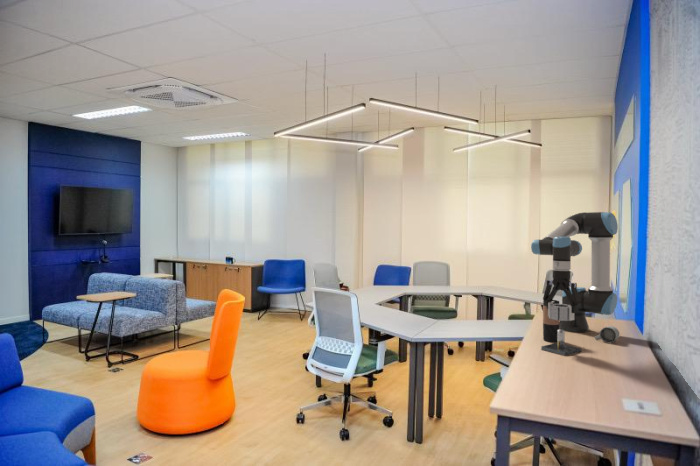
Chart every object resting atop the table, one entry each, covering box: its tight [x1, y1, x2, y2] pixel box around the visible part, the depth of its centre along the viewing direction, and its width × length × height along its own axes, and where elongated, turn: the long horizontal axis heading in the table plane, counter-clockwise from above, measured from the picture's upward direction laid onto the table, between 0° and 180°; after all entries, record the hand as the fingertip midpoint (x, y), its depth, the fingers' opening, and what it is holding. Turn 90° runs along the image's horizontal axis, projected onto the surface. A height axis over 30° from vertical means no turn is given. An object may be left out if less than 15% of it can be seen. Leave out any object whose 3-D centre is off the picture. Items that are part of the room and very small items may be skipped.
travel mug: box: [542, 299, 560, 343], centre depth 235 cm, size 8×8×20 cm
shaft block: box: [540, 329, 582, 357], centre depth 217 cm, size 12×12×10 cm
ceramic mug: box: [594, 325, 620, 344], centre depth 235 cm, size 11×8×8 cm
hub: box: [549, 303, 571, 322], centre depth 216 cm, size 10×10×6 cm
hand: (560, 318), depth 216 cm, fingers closed on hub, 10 cm apart
